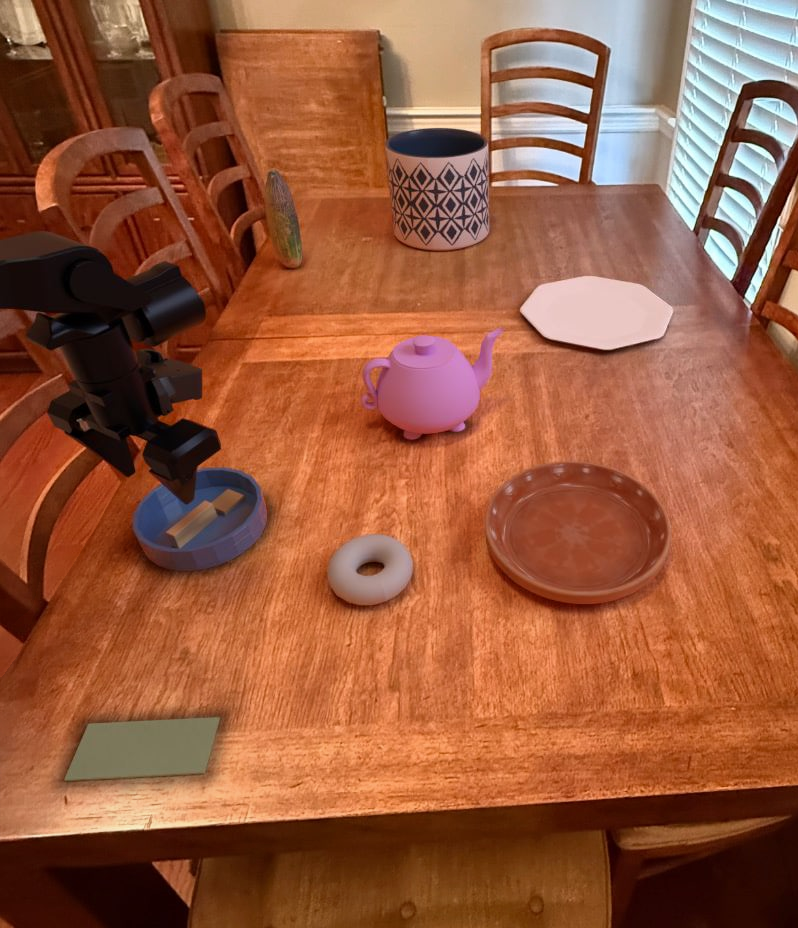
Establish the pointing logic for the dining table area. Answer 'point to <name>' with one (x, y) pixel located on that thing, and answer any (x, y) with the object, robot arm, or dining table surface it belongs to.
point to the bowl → (214, 540)
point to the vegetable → (282, 220)
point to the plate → (597, 313)
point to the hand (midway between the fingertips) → (159, 487)
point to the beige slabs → (202, 517)
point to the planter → (439, 187)
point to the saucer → (577, 532)
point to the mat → (144, 749)
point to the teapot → (428, 384)
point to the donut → (373, 586)
